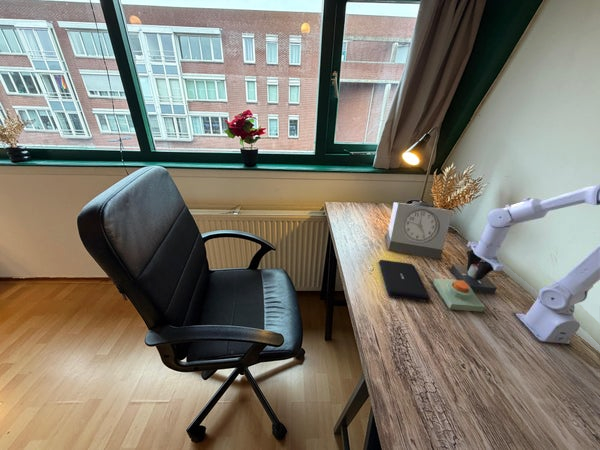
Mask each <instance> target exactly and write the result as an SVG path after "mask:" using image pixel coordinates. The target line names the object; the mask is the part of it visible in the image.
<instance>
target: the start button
mask: <svg viewBox="0 0 600 450" xmlns="http://www.w3.org/2000/svg"><path fill="white" fill-rule="evenodd" d="M455 280H456V281H455V282H454V284H453V287H454V288H455V289H456V290H458V291H460V292H467V290H468V288H469V285H468V284H467V283H465V282H464V281H461V280H458V279H455Z"/></svg>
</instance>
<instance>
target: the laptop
mask: <svg viewBox="0 0 600 450" xmlns="http://www.w3.org/2000/svg"><path fill="white" fill-rule="evenodd" d="M378 264H379V267H380V271H381V274H382V275H381V276H382V278H383V281H384V285H385V289H386V293H387V295H388V296H389V297H393V298H399V299H407V300H414V301H422V302H428V301H431V298H430V295H429V292H428V291H427V289H426V287H425V285H424V283H423V281H422V279H421V276H420V275H419V273H418V270H417V268H416V267H415V265H413V263H409V262H402V261H394V260H386V259H380V260H379V261H378Z"/></svg>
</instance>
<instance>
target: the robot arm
mask: <svg viewBox="0 0 600 450" xmlns="http://www.w3.org/2000/svg"><path fill="white" fill-rule="evenodd" d="M582 204H588V205H593V206H600V184H597V185H592V186H587V187H583V188H579V189H576V190H574V191H571V192H566V193H564V194H561V195H558V196H554V197H551V198H548V199H544V200H543V199H540V198H531V197H528V198H523V199H522V201H521V202H518V203H514V204H511V203H509V204H505V206H504V207H501V208H494V209H493V210H491V211H489V212H488V213H487V216H486V221H487V223H486V224H487V225H486V226H485V228H484V230H483V233H482V234H481V237H480V239H479V241H478V243H476V242H475V241H468V243H467V245H466V246H467V248H469V249H470V250H467V251H466V256H467V265H468V266H467V270H469V268H470V266H471V265H472V264H474V263H475V264H476V265H478V271H477V273H476V275H475V278H476V279H482V278H483V277H485V276H486V277H487V275H488V274H489V273H491V272H492V271H495V272H502V271H503V268H504V265H503V264H502V263H501V262H500V261H499V258H498V256H499V255H498V252H499V250H500V248H501V247H502V244H503V242H504V240H505V239H506V237H507V235H508V233H509V231H510V229H511V227H512V226H514V225H516V224H521V223H525V222H530V221H534V220H538V219H543V218H545V216H547V214H548V213H549V212H551V211H555V210H559V209H563V208H568V207H572V206H578V205H582ZM482 260H483V261H482ZM599 281H600V244H598V246H596V248H595V249H593V250H592V251H591V252H590V253H589V254H588V255H586V256H585V257H584V258H583V259H582V260H581V261H579V262H578V263H577V265H576V266H575V267H573V268H572V269H571V270H570V271H569V272H568V273H566V275H564V276H562V277H561V278H559V279H558V280H556V281H555V282H554V283H553V284H551V285H547V286H544V287H542V288H541V289H539V290H538V297H537V298H536V299H535V301H534V303H532V305H531V307H530V308H529V310H528V311H527V312H526V313H516V314H515V315H516V317H517V318H518V319H519V320H520V322H522V324H523V325H524V326H526V328H528V330H529V331H530V332H531V333H532V334H533V335H534V336H535V337H536V339H537V340H539V341H540V342H544V343H553V344H565V345H566V344H567V345H568V344H570V343H571V341H570V339H571V338H573V336H574V335H575V334H576V333H577V331H579V329H580V326H581V325H580V323H579V321H578V320H577V319H576V317H575V315H574V313H575V309H576V307H575V305H576V304H580V303H582V302H584V301H585V300H587V298H588V294H589V293H588V292H589V291H590V290H591V289H592V288H593V287H594V285H595V284H597V283H598V282H599Z"/></svg>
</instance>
